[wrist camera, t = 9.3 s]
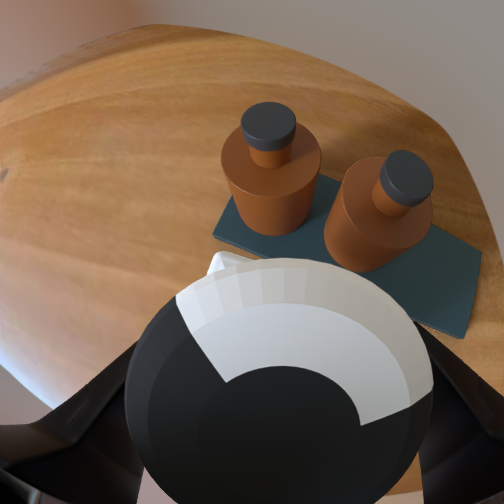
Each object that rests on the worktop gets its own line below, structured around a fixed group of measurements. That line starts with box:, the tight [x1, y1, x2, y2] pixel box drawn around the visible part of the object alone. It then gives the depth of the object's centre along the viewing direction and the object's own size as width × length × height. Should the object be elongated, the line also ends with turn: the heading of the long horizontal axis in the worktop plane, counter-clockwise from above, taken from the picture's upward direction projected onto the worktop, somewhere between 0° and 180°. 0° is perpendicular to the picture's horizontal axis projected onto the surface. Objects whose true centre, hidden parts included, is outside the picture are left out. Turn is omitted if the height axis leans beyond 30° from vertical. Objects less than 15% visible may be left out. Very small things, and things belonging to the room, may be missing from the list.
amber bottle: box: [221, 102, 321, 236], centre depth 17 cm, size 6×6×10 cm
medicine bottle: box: [124, 251, 434, 504], centre depth 9 cm, size 7×7×12 cm
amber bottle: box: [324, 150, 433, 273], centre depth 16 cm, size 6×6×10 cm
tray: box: [212, 174, 482, 339], centre depth 21 cm, size 8×24×1 cm, turn 66°
